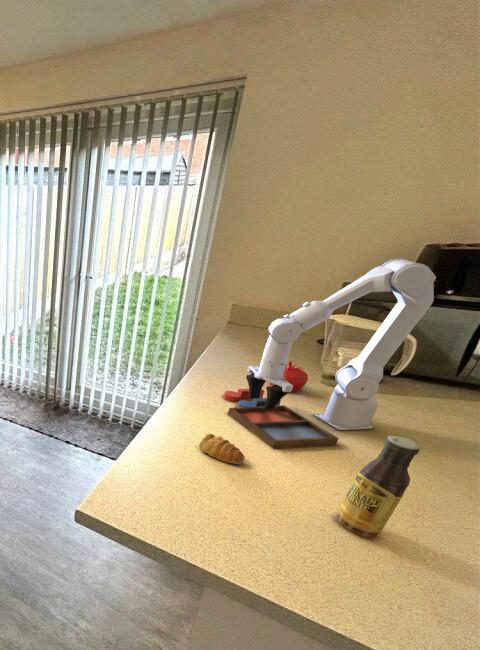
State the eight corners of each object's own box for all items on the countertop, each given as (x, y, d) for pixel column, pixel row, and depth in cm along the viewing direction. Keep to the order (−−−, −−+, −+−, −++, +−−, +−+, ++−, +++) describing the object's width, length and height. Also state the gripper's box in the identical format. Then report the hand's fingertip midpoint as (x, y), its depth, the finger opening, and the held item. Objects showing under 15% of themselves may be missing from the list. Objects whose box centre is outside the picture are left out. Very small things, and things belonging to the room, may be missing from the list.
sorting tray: (282, 411, 115) (284, 405, 114) (336, 445, 99) (339, 438, 99) (227, 413, 115) (229, 407, 114) (273, 448, 99) (275, 441, 98)
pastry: (248, 459, 95) (252, 446, 93) (233, 469, 92) (237, 456, 90) (209, 441, 102) (212, 429, 101) (194, 449, 99) (197, 437, 97)
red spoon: (254, 394, 125) (257, 386, 124) (265, 400, 121) (267, 392, 120) (220, 396, 125) (222, 387, 124) (229, 402, 121) (231, 393, 120)
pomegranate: (305, 397, 123) (315, 370, 119) (266, 390, 128) (274, 364, 124) (301, 385, 131) (310, 359, 127) (264, 379, 136) (272, 354, 132)
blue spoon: (270, 404, 119) (273, 395, 118) (281, 411, 115) (284, 402, 114) (233, 405, 119) (236, 397, 118) (243, 413, 115) (246, 404, 114)
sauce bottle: (326, 516, 78) (364, 431, 70) (355, 513, 78) (396, 428, 70) (359, 542, 72) (404, 452, 64) (390, 539, 72) (439, 450, 64)
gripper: (242, 352, 118) (231, 392, 123) (280, 371, 104) (266, 415, 110) (265, 351, 118) (253, 391, 123) (306, 370, 105) (290, 414, 110)
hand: (261, 403), depth 116 cm, fingers open, 6 cm apart
